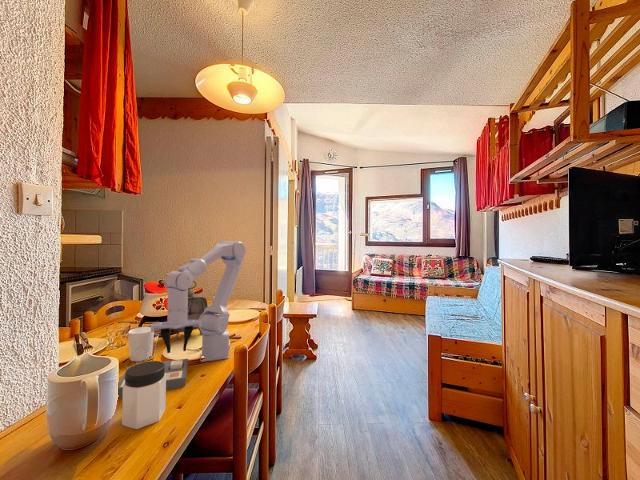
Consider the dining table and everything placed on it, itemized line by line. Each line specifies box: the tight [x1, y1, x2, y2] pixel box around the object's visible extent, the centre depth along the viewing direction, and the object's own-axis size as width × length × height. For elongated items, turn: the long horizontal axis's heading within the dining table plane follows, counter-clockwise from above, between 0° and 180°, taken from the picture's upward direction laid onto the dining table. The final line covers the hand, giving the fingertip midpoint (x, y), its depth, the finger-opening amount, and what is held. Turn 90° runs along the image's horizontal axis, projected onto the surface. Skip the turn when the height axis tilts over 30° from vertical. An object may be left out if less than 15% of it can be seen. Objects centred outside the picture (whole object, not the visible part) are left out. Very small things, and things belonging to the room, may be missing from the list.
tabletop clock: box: [173, 280, 208, 341], centre depth 122 cm, size 14×9×25 cm, turn 134°
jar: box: [121, 360, 167, 430], centre depth 66 cm, size 9×8×12 cm
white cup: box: [127, 326, 155, 362], centre depth 99 cm, size 8×8×10 cm
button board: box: [118, 358, 189, 398], centre depth 83 cm, size 17×14×3 cm
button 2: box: [170, 359, 183, 370], centre depth 87 cm, size 3×3×2 cm
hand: (176, 351), depth 87 cm, fingers open, 4 cm apart
